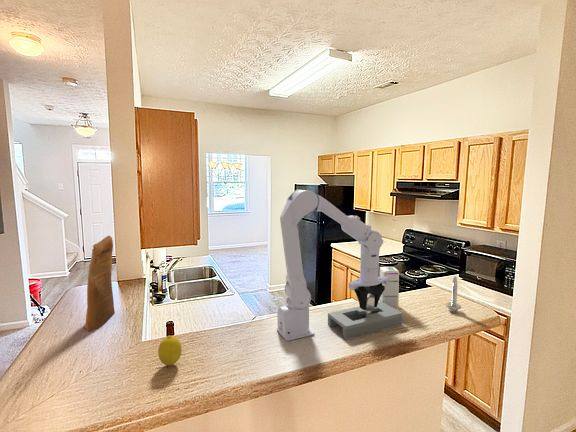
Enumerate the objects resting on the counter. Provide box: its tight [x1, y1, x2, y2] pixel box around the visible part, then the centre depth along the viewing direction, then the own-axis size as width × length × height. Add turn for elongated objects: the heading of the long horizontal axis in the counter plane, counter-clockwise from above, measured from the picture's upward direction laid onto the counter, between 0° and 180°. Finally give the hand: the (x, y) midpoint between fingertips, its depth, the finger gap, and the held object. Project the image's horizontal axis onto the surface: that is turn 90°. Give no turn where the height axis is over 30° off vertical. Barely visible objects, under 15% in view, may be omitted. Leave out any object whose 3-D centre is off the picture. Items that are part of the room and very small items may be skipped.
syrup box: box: [379, 266, 400, 311], centre depth 112 cm, size 6×6×14 cm
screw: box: [445, 276, 462, 314], centre depth 108 cm, size 13×5×5 cm
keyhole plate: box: [327, 302, 404, 340], centre depth 99 cm, size 22×10×4 cm, turn 114°
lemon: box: [157, 335, 183, 366], centre depth 77 cm, size 6×6×8 cm
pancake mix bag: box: [85, 234, 115, 332], centre depth 102 cm, size 7×19×28 cm, turn 8°
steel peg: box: [362, 293, 375, 319], centre depth 99 cm, size 4×4×9 cm
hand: (368, 307), depth 99 cm, fingers closed on steel peg, 4 cm apart
